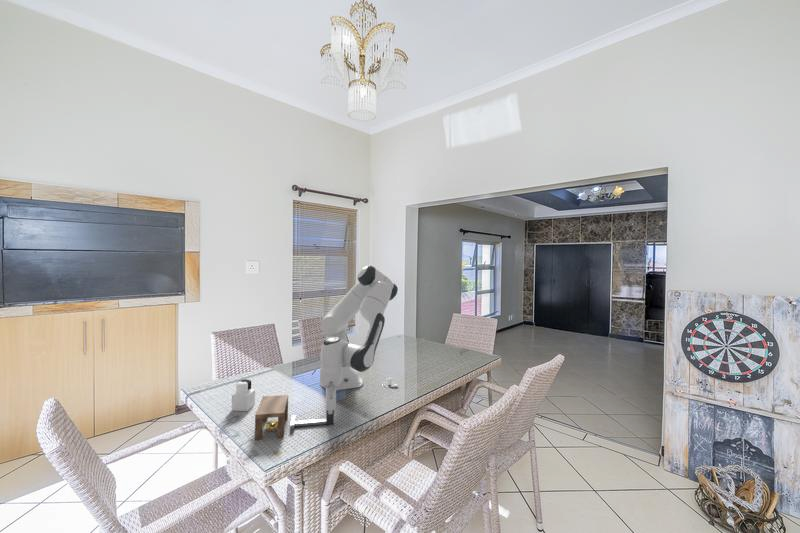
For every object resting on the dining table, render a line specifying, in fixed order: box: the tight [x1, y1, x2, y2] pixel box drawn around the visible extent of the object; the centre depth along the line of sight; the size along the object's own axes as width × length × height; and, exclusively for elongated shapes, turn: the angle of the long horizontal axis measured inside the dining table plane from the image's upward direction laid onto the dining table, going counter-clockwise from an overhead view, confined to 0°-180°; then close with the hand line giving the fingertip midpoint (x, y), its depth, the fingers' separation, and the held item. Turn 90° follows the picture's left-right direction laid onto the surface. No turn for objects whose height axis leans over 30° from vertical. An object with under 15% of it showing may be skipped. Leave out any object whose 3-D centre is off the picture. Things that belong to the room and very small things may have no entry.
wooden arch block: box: [254, 394, 289, 441], centre depth 132 cm, size 10×16×10 cm, turn 13°
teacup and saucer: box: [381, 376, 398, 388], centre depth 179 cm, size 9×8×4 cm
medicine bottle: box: [231, 378, 256, 412], centre depth 148 cm, size 7×7×12 cm
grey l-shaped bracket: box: [289, 398, 335, 432], centre depth 135 cm, size 17×8×12 cm, turn 103°
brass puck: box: [265, 420, 278, 432], centre depth 132 cm, size 5×5×2 cm
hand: (330, 411), depth 137 cm, fingers closed on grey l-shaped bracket, 2 cm apart
